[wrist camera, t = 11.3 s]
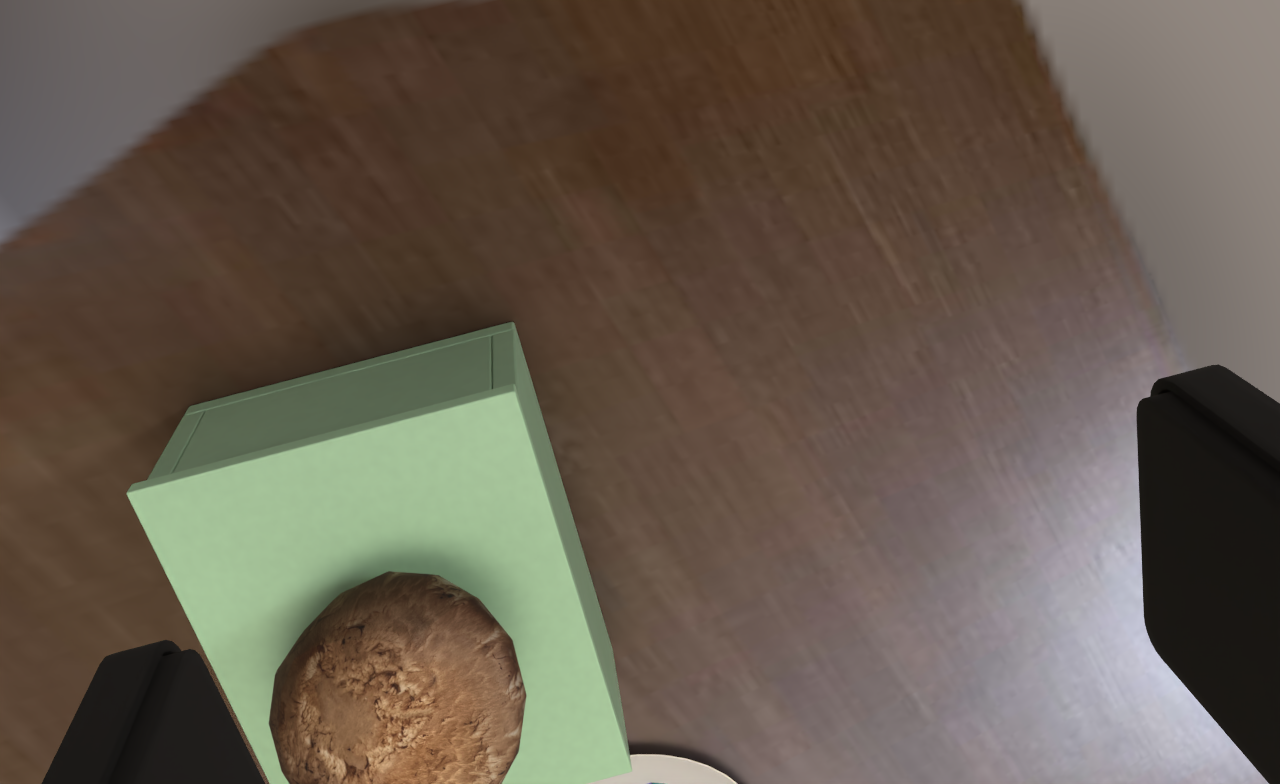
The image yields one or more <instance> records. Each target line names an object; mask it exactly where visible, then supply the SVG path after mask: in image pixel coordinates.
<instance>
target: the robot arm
mask: <svg viewBox="0 0 1280 784" xmlns="http://www.w3.org/2000/svg"><path fill="white" fill-rule="evenodd" d="M1137 439H1138V466H1139V493H1140V520H1141V547H1142V575H1143V602H1144V620H1145V626H1146V629H1147V633H1148V635H1149V638H1150V640H1151V643H1152V645H1153V646H1154V648H1155V650H1156V652H1157V653H1158V654H1159V656H1160V657H1161V658H1162V659H1163V661H1164V662H1165V663H1166V664H1167V665H1168V666H1169V668H1170V669H1171V670H1172V671H1173V672H1174V673H1175V675H1176V676H1177V677H1178V678H1179V679H1180V680H1181V682H1182V683H1183V684H1184V685H1185V686H1186V687H1187V688H1188V690H1189V691H1190V692H1191V693H1192V694H1193V695H1194V697H1195V698H1196V699H1197V700H1198V701H1199V702H1200V704H1201V705H1202V706H1203V707H1204V708H1205V709H1206V711H1207V712H1208V713H1209V714H1210V715H1211V716H1212V718H1213V719H1214V720H1215V721H1216V722H1217V723H1218V725H1219V726H1220V727H1221V728H1222V729H1223V730H1224V732H1225V733H1226V734H1227V735H1228V736H1229V737H1230V739H1231V740H1232V741H1233V742H1234V743H1235V744H1236V746H1237V747H1238V748H1239V749H1240V750H1241V751H1242V752H1243V754H1244V755H1245V756H1246V757H1247V758H1248V759H1249V761H1250V762H1251V763H1252V764H1253V765H1254V766H1255V768H1256V769H1257V770H1258V771H1259V772H1260V773H1261V775H1262V776H1263V777H1264V778H1265V779H1266V780H1267V782H1268V783H1269V784H1280V404H1279V403H1278V402H1276V401H1275V400H1273V399H1272V398H1270V397H1269V396H1267V395H1266V394H1264V393H1263V392H1261V391H1260V390H1258V389H1257V388H1255V387H1254V386H1253V385H1251V384H1250V383H1248V382H1247V381H1245V380H1243V379H1242V378H1240V377H1239V376H1238V375H1236V374H1235V373H1233V372H1232V371H1230V370H1228V369H1227V368H1225V367H1223V366H1220V365H1211V366H1207V367H1204V368H1200V369H1196V370H1192V371H1188V372H1184V373H1181V374H1177V375H1173V376H1169V377H1165V378H1161V379H1158V380H1157V381H1156V382H1155V383H1154V385H1153V387H1152V390H1151V397H1148V398H1144V399H1142V400H1141V401H1140V402H1139V404H1138V407H1137ZM42 784H265V783H264V781H263V779H262V777H261V775H260V773H259V771H258V769H257V767H256V765H255V763H254V761H253V759H252V757H251V755H250V753H249V751H248V749H247V747H246V745H245V743H244V741H243V739H242V737H241V735H240V733H239V731H238V729H237V727H236V725H235V723H234V721H233V719H232V717H231V715H230V713H229V711H228V709H227V707H226V705H225V703H224V701H223V699H222V697H221V695H220V693H219V691H218V689H217V687H216V685H215V683H214V681H213V679H212V677H211V675H210V673H209V671H208V669H207V667H206V665H205V663H204V661H203V659H202V658H201V656H200V655H199V654H198V653H197V652H196V651H195V650H192V649H189V650H185V651H181V650H180V648H179V647H178V646H177V645H176V644H175V643H173V642H172V641H168V640H164V641H160V642H156V643H152V644H148V645H145V646H141V647H137V648H133V649H129V650H126V651H122V652H118V653H114V654H111V655H109V656H106V657H105V658H104V659H103V661H102V662H101V663H100V665H99V667H98V669H97V671H96V673H95V675H94V678H93V680H92V682H91V684H90V686H89V688H88V690H87V692H86V694H85V696H84V698H83V700H82V702H81V704H80V706H79V708H78V710H77V712H76V714H75V716H74V719H73V721H72V723H71V725H70V727H69V729H68V731H67V733H66V735H65V737H64V739H63V741H62V743H61V745H60V747H59V749H58V751H57V753H56V755H55V757H54V759H53V762H52V764H51V766H50V768H49V770H48V772H47V774H46V776H45V778H44V780H43V782H42Z"/></svg>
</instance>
